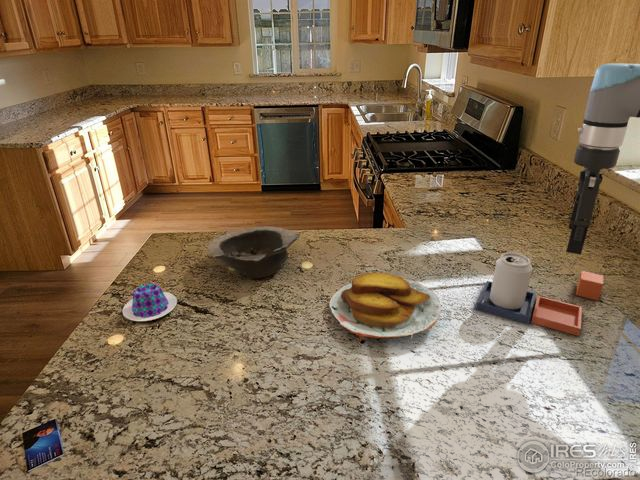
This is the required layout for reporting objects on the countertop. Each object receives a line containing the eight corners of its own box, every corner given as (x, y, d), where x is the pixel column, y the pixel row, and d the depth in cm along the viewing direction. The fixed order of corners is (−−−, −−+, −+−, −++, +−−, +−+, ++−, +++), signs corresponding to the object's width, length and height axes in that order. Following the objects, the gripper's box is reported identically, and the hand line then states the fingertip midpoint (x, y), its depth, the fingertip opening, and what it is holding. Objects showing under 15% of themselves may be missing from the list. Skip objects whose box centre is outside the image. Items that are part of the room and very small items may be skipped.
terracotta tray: (580, 313, 96) (582, 306, 96) (578, 336, 89) (581, 328, 89) (535, 302, 101) (537, 295, 100) (531, 322, 94) (532, 315, 93)
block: (598, 291, 105) (603, 275, 103) (598, 300, 101) (603, 284, 99) (576, 286, 107) (581, 270, 105) (576, 295, 103) (581, 279, 101)
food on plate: (367, 363, 82) (368, 336, 80) (310, 299, 102) (310, 276, 100) (465, 324, 93) (469, 299, 90) (396, 274, 113) (398, 252, 110)
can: (492, 291, 104) (500, 247, 99) (525, 299, 101) (536, 255, 96) (485, 306, 99) (494, 261, 93) (520, 316, 95) (531, 269, 90)
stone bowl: (278, 292, 105) (274, 259, 101) (193, 282, 113) (185, 251, 109) (312, 248, 125) (309, 219, 121) (238, 242, 134) (233, 215, 130)
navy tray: (534, 299, 102) (536, 292, 101) (528, 324, 93) (530, 317, 92) (485, 287, 107) (487, 280, 106) (475, 309, 98) (477, 302, 97)
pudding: (175, 290, 107) (172, 272, 104) (179, 316, 96) (175, 297, 94) (123, 300, 103) (119, 281, 100) (122, 329, 93) (117, 309, 90)
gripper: (578, 133, 98) (558, 218, 107) (576, 158, 78) (552, 260, 87) (617, 135, 94) (592, 223, 103) (625, 162, 75) (594, 268, 84)
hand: (574, 240), depth 95 cm, fingers open, 13 cm apart
